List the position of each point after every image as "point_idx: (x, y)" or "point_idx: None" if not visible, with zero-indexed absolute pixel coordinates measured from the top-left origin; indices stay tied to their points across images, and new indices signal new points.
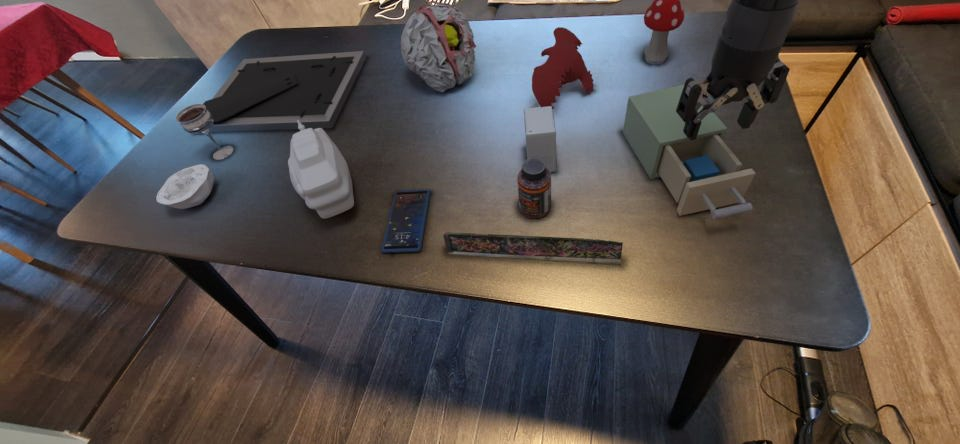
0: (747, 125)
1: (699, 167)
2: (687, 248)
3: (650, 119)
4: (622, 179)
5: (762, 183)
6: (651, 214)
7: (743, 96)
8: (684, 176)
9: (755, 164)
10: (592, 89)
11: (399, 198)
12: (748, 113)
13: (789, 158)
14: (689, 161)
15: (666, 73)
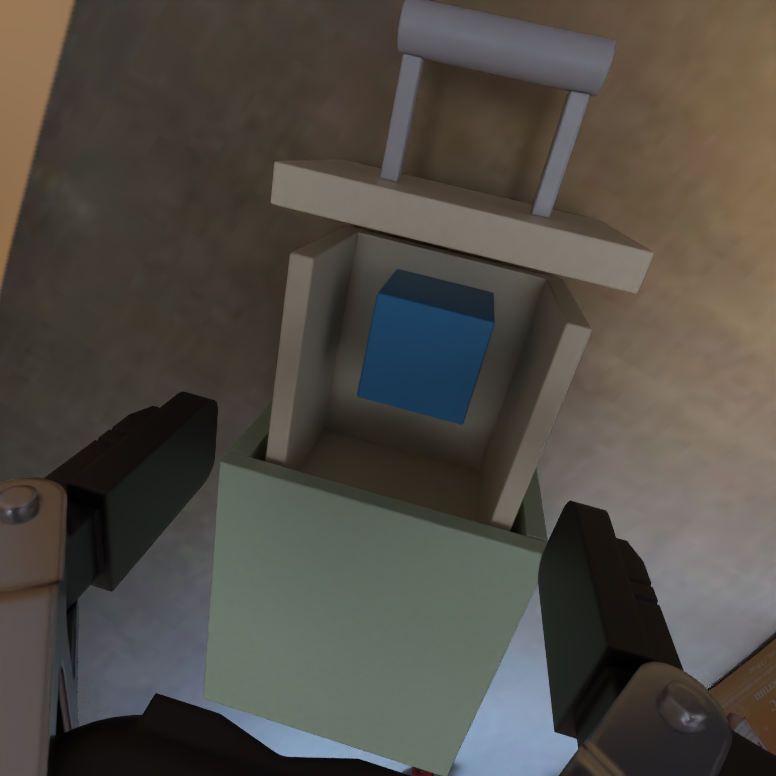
0: (189, 408)
1: (439, 358)
2: (697, 55)
3: (468, 666)
4: (616, 479)
5: (201, 209)
6: (666, 293)
7: (124, 768)
8: (585, 340)
9: (172, 296)
10: (416, 770)
11: None
12: (141, 488)
13: (58, 259)
14: (451, 408)
15: (194, 694)
